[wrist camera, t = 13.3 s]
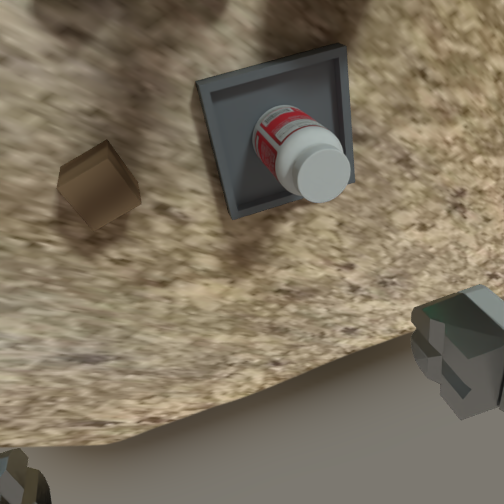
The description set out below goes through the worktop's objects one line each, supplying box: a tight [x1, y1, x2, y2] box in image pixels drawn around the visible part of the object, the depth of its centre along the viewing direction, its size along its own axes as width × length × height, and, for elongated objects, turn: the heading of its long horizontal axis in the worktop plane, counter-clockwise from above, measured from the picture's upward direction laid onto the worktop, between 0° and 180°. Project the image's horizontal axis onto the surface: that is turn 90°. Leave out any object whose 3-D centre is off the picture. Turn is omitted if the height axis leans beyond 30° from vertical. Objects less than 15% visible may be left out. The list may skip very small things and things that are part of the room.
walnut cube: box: [57, 140, 141, 231], centre depth 42 cm, size 5×5×5 cm
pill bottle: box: [252, 105, 351, 203], centre depth 42 cm, size 6×6×11 cm
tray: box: [195, 43, 355, 220], centre depth 46 cm, size 14×14×2 cm
